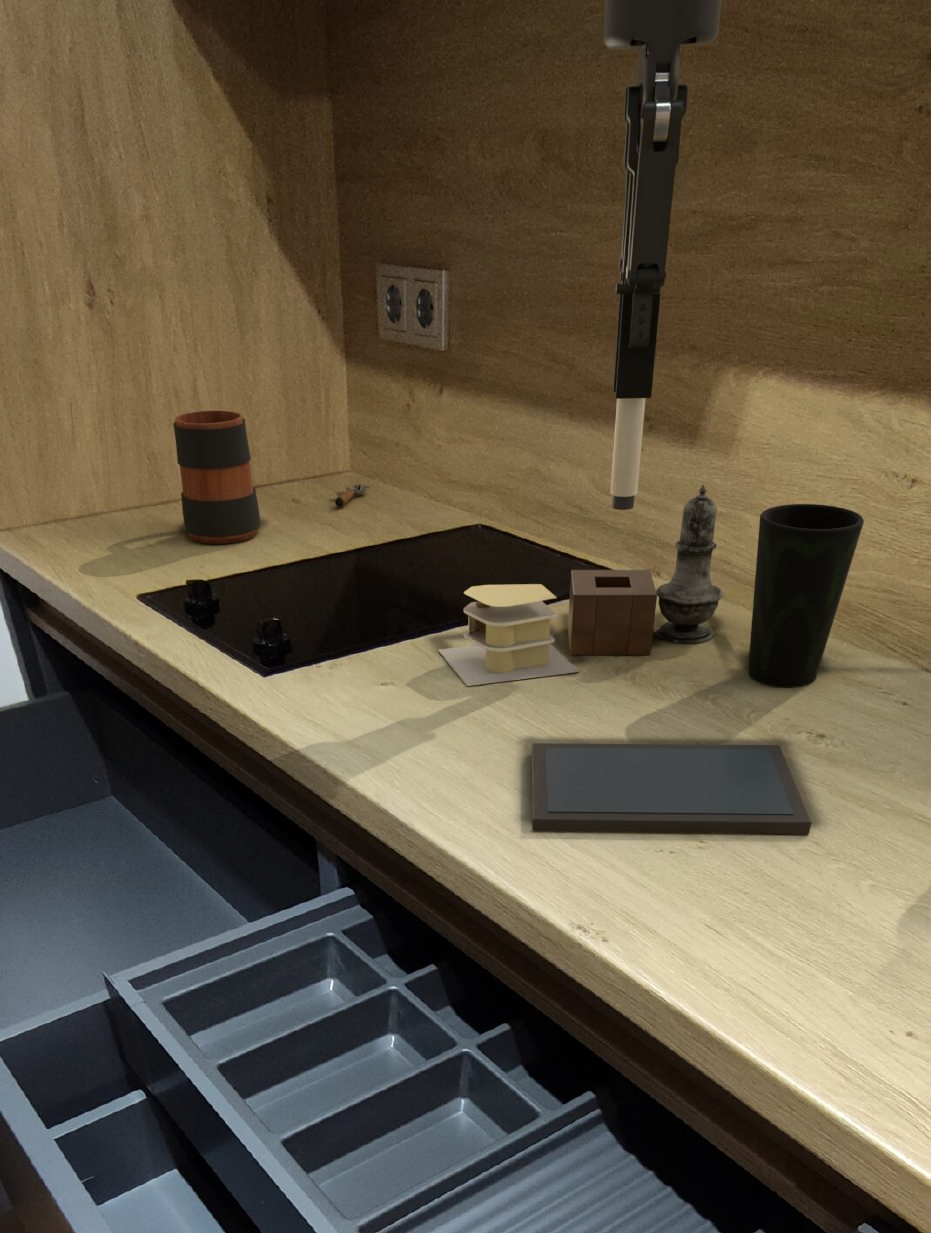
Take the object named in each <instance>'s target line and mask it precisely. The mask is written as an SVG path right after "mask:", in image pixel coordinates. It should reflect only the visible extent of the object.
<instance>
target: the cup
mask: <svg viewBox="0 0 931 1233" xmlns="http://www.w3.org/2000/svg"><path fill="white" fill-rule="evenodd" d="M864 523H865V520H864V517H863V516H862V515H861V514H860V513H858V512H856V511H853V510H852V509H847V508H844V507H840V506H834V505H827V504H816V503H793V504H792V503H791V504H782V505H777V506H776V505H775V506H773V507H769V508H767V509H765V510H764V511H762V512H761V513H760V514H759V525H758V526H759V527H758V536H757V537H758V539H757V552H756V564H755V576H754V577H755V578H754V590H753V601H752V602H753V603H752V612H751V613H752V614H751V627H750V640H749V652H748V665H747V675H748V677H749V678H750V679H751V680H753V681H754V682H757V683H759V684H761V685H762V684H763V685H766V686H771V687H776V688H777V687H778V688H799V687H805V686H808V685H811V684H812V683H814V682H815V681H816V679H817V676H818V672H819V670H820V667H821V663H822V659H823V656H824V653H825V651H826V646H827V644H828V641H829V637H830V634H831V630H832V628H833V624H834V620H835V617H836V614H837V612H838V608H839V604H840V602H841V597H842V595H843V591H844V588H845V585H846V582H847V579H848V576H849V571H850V568H851V565H852V563H853V562H852V561H853V559H854V556H855V552H856V549H857V545H858V542H859V539H860V536H861V532H862V529H863V526H864Z"/></svg>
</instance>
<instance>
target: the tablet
mask: <svg viewBox="0 0 931 1233" xmlns="http://www.w3.org/2000/svg"><path fill="white" fill-rule="evenodd" d="M530 754H531V758H530V759H531V760H530V762H531V763H530V764H531V765H530V768H531V821H532V822H531V827H532V828H531V830H532V832H559V833H560V832H563V833H564V832H565V833H566V832H567V833H569V832H571V833H643V834H644V833H646V834H647V833H651V834H654V833H655V834H656V833H658V834H663V833H664V834H724V835H725V834H727V835H728V834H730V835H732V834H733V835H739V834H740V835H742V834H743V835H809V834H810V831H811V827H812V820H811V818H810V815H809V813H808V810H807V808H806V805H805V803H804V801H803V798H802V796H801V793H800V791H799V788H798V786H797V784H796V781H795V779H794V776H793V773H792V771H791V768H790V766H789V764H788V762H787V759H786V757H785V755H784V752H783V750H782V747H781V745H780V744H712V743H711V744H710V743H709V744H707V743H705V744H704V743H702V744H700V743H699V744H697V743H572V742H571V743H567V742H566V743H562V742H559V743H558V742H557V743H556V742H552V743H551V742H532V743H531V751H530Z"/></svg>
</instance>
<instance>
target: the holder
mask: <svg viewBox="0 0 931 1233" xmlns="http://www.w3.org/2000/svg"><path fill="white" fill-rule="evenodd" d="M569 582H570V584H569V600H568V616H567V617H568V618H567V635H568V647H569V655H571V656H589V655H590V656H651V654H652V645H653V638H654V628H655V627H654V626H655V618H656V610H657V609H656V608H657V602H658V601H657V599H658V596H657V593H656V590H657V589H656V586H655V582H654V578H653V575H652V572H651V569H571V571H570V581H569Z"/></svg>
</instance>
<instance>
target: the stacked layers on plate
mask: <svg viewBox="0 0 931 1233" xmlns="http://www.w3.org/2000/svg"><path fill="white" fill-rule="evenodd" d="M463 594H464V595H466V596H468V597H470V598H471V599H474V600H476V601H471V602H470V603H469V604H467V605H466V606H465V607H463V613H464V614H465V615H466V616H467V621H468V622H467V623H468V626H467V630H466V631H465V632H463V638H464V639H465V640H467V641H469V642H471V643H473V644H475V645H473V644H472V645H466V646H456V647H448V648H442V649H441V648H440V649H437V651H438V652H439V654H441V656H442V657H443V659H445V661H446V662H447V663H448V664H449V665H450V667H451V668H452V669H453V670H454V672H455V673H456V675H458V676H459V678H460V679H461V680H462V682H463V683H464V684H465V685H466V687H471V686H480V685H487V684H493V683H503V682H510V681H517V680H525V679H533V678H534V679H535V678H542V677H549V676H558V675H566V674H574V673H580V672H581V671H580V670H579V669H578V668H576V666H574V665H573V663H572V662H571V661H569V660H568V659H567V658H566V657H565V656H564V655H563V654H562V653H561V652H560V651H559V650H558V649H557V648H556V647H555V646H554V645H553V643H555V637H553V635H552V634H551V620H552V619H555V618H556V617H557V613H556V612H555V611H554V610H553V609H551V608H550V607H549V606H548V605H547V604H546V603H545V602H544V601H548V600H553V599H557V598H558V597H557V596H556V595H555V594H553V593H552V592H551V591H550V590H549V589H548V588H546V587H545V586H544V585H543V584H541V583H527V584H526V583H525V584H524V583H523V584H520V583H519V584H516V583H515V584H481V585H473V586H470V587H469V588H468V589H466V590H465V591H464V592H463Z"/></svg>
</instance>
